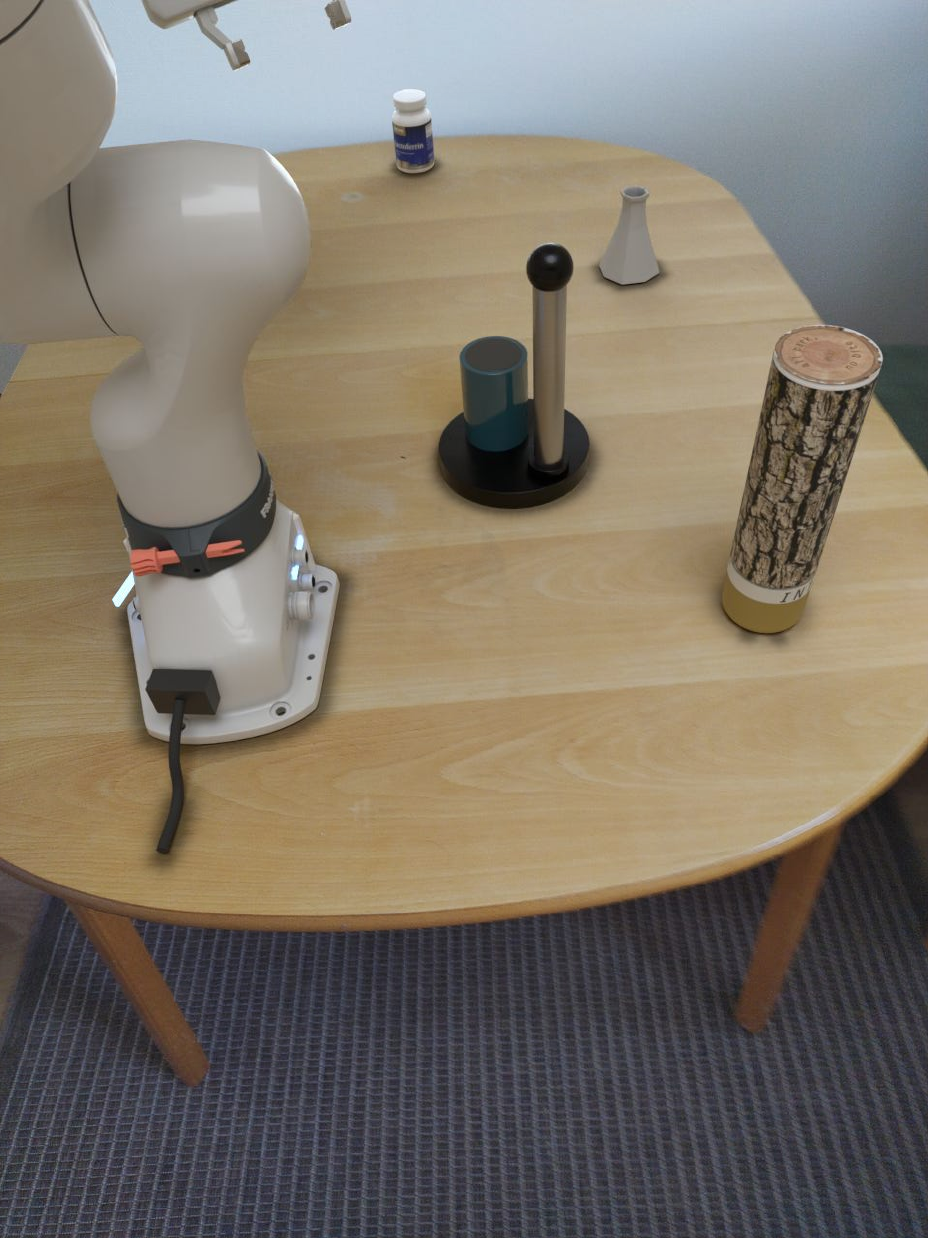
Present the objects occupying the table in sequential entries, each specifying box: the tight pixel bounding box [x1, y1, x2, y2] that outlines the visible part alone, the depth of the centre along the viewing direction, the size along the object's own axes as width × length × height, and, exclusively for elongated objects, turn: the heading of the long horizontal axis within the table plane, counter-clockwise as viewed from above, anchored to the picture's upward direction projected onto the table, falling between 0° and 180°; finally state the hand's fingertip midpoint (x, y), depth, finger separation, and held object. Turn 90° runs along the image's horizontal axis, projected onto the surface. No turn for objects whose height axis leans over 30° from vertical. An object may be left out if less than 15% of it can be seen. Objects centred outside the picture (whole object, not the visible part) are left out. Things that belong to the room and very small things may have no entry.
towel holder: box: [438, 242, 590, 510], centre depth 86 cm, size 15×15×24 cm
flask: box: [598, 184, 660, 285], centre depth 114 cm, size 7×7×10 cm
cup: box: [459, 335, 529, 452], centre depth 92 cm, size 6×6×9 cm
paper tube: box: [721, 324, 884, 634], centre depth 71 cm, size 7×7×25 cm
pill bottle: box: [391, 88, 435, 174], centre depth 138 cm, size 6×6×10 cm
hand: (292, 46), depth 80 cm, fingers open, 8 cm apart
